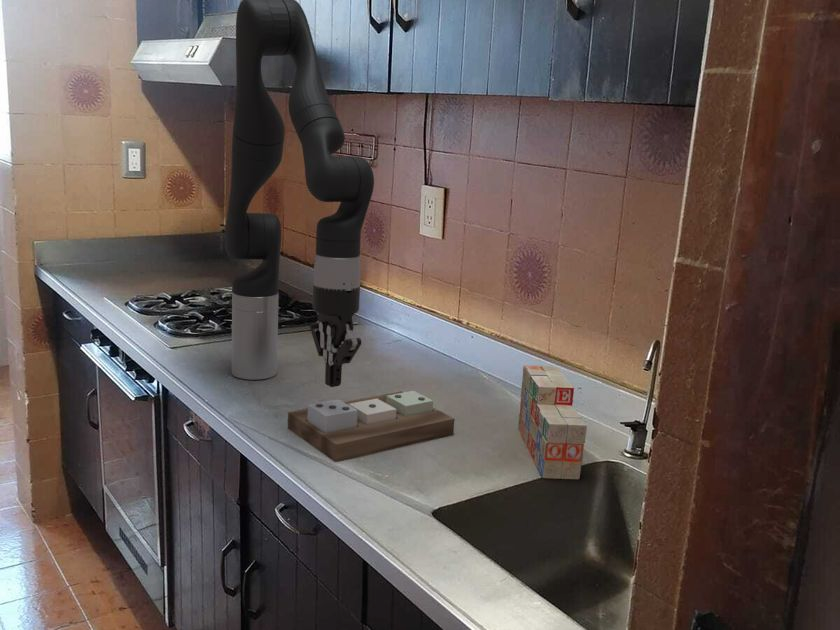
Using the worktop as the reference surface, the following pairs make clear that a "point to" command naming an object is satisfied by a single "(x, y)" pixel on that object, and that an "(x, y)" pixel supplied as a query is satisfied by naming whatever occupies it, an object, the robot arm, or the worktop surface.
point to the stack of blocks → (551, 423)
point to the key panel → (372, 432)
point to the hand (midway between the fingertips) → (333, 385)
